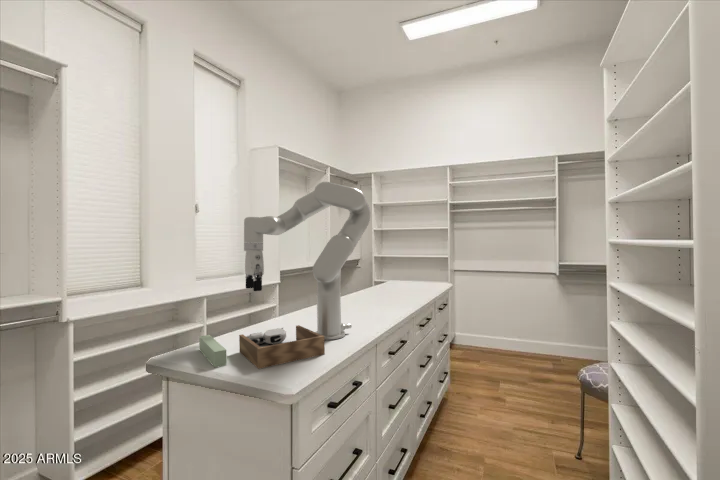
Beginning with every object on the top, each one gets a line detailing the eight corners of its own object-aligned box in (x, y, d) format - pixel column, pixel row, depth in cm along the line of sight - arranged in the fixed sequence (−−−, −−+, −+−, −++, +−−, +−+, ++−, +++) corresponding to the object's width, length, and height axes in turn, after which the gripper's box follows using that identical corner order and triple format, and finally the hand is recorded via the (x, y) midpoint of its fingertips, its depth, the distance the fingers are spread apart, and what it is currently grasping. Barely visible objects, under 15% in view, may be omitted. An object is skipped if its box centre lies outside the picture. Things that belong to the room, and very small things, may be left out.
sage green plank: (199, 350, 125) (199, 336, 125) (209, 348, 127) (209, 334, 127) (214, 368, 107) (214, 352, 107) (226, 365, 109) (226, 349, 109)
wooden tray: (299, 340, 134) (298, 325, 134) (324, 354, 117) (324, 336, 117) (239, 352, 121) (239, 334, 121) (258, 368, 105) (258, 348, 105)
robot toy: (245, 353, 124) (288, 345, 128) (243, 340, 124) (286, 333, 128) (246, 343, 135) (285, 336, 140) (245, 332, 135) (284, 325, 140)
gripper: (270, 247, 137) (270, 291, 137) (255, 247, 151) (255, 286, 151) (251, 247, 133) (251, 292, 133) (238, 247, 147) (237, 287, 147)
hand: (253, 289), depth 142 cm, fingers open, 9 cm apart
